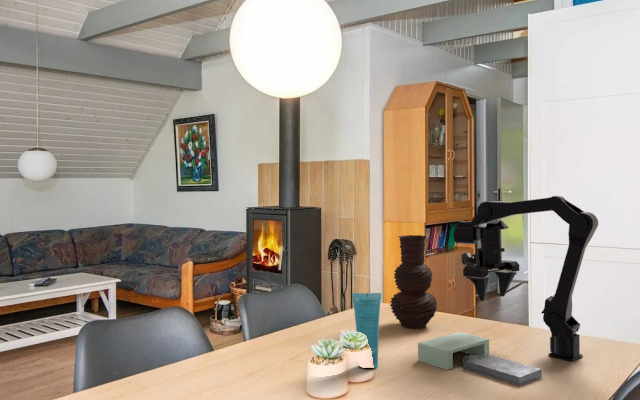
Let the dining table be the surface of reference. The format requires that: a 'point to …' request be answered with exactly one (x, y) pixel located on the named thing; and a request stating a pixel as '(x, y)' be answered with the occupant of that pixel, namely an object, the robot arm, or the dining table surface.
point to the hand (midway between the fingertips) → (492, 298)
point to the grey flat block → (501, 369)
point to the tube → (368, 319)
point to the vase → (413, 285)
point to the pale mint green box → (450, 348)
